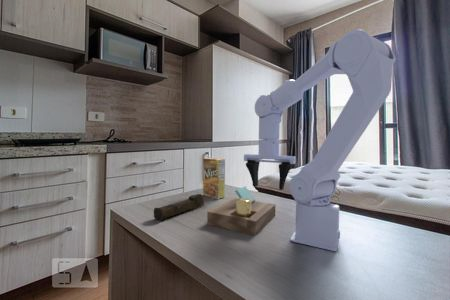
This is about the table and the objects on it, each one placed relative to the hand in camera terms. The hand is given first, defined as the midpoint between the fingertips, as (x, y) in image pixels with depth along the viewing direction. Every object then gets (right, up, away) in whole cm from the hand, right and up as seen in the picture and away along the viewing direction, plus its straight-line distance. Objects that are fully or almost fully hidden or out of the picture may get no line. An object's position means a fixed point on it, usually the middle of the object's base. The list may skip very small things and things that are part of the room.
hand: (268, 187), depth 63 cm
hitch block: (-7, -9, +1) cm, 12 cm away
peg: (-7, -10, -4) cm, 13 cm away
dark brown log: (-26, -9, +7) cm, 29 cm away
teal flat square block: (-6, -4, +5) cm, 9 cm away
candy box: (-17, -8, +26) cm, 32 cm away
